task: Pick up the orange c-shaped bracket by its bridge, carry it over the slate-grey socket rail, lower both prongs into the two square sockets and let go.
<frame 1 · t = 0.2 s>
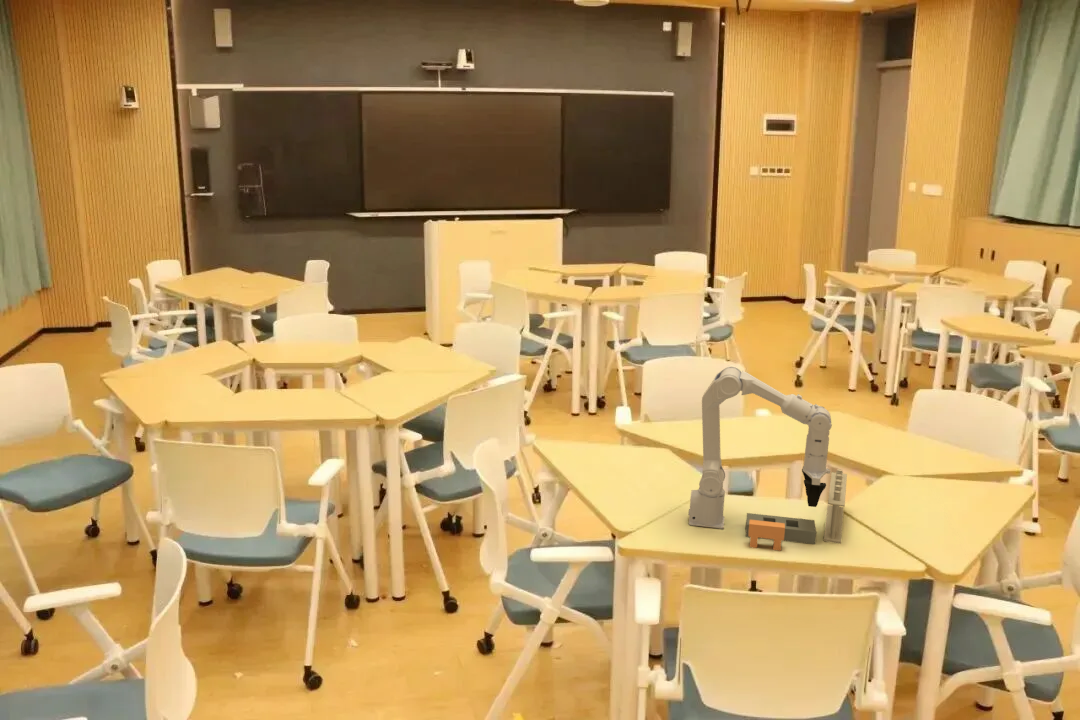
hand: (811, 500, 245), 10 cm above the table, tool pointing down, fingers open, 7 cm apart
test tube rack: (833, 525, 255), on the table
orange c-shaped bracket: (765, 546, 240), on the table
socket rail: (779, 534, 248), on the table
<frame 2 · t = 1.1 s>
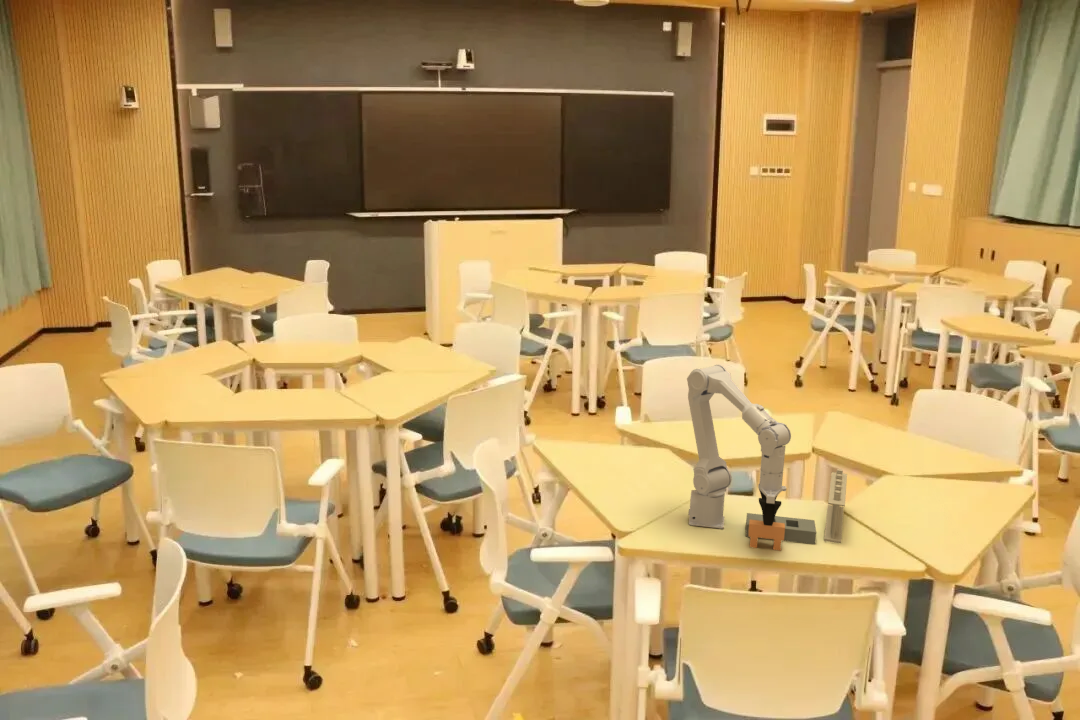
hand: (767, 519, 238), 8 cm above the table, tool pointing down, fingers open, 7 cm apart
nothing on the table moved.
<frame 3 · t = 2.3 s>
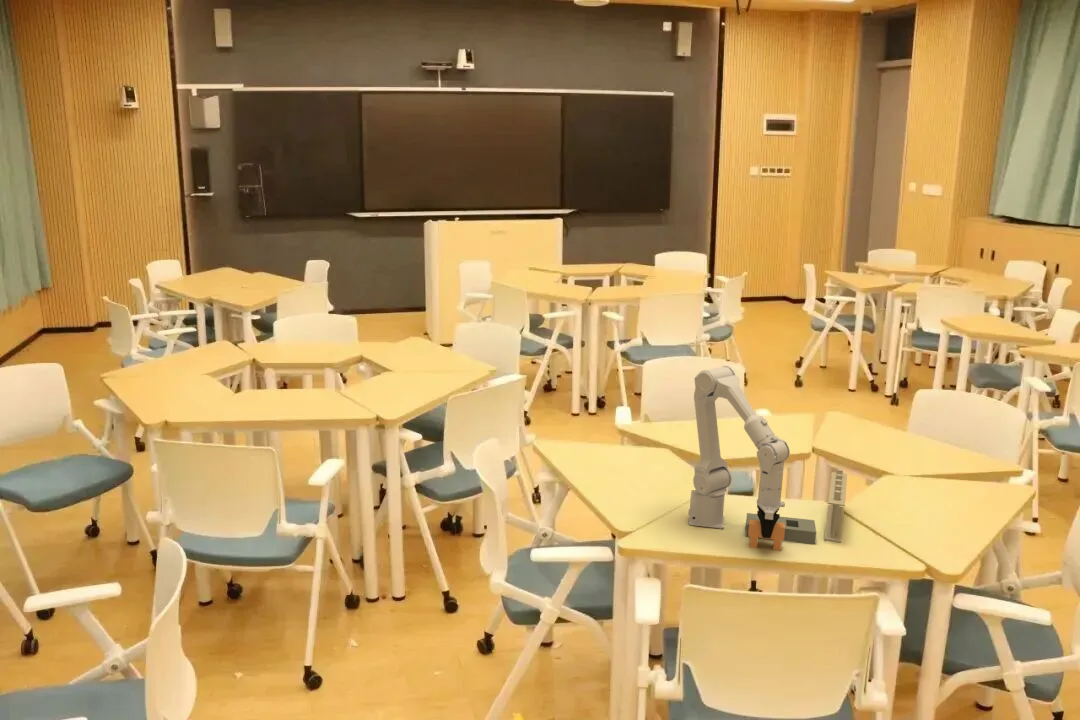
hand: (766, 534, 239), 3 cm above the table, tool pointing down, fingers closed on orange c-shaped bracket, 3 cm apart
orange c-shaped bracket: (765, 546, 240), on the table, touching gripper
everything else where it was.
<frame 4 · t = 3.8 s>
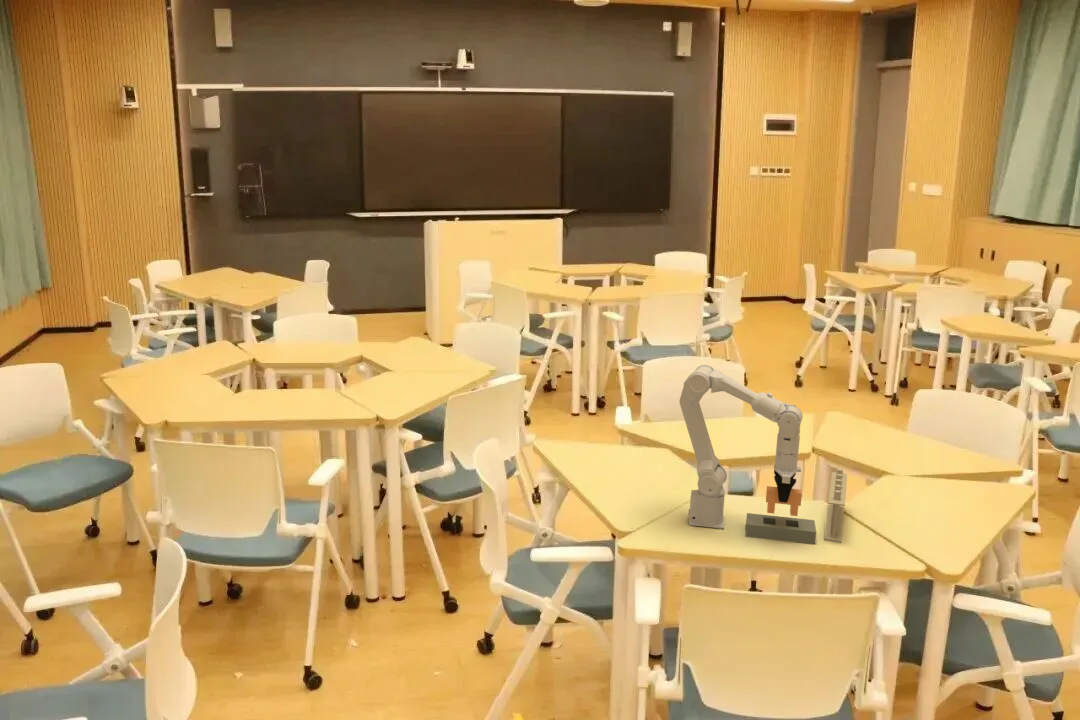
hand: (782, 499, 245), 10 cm above the table, tool pointing down, fingers closed on orange c-shaped bracket, 3 cm apart
orange c-shaped bracket: (782, 512, 246), point 6 cm above the table, touching gripper
everything else where it was.
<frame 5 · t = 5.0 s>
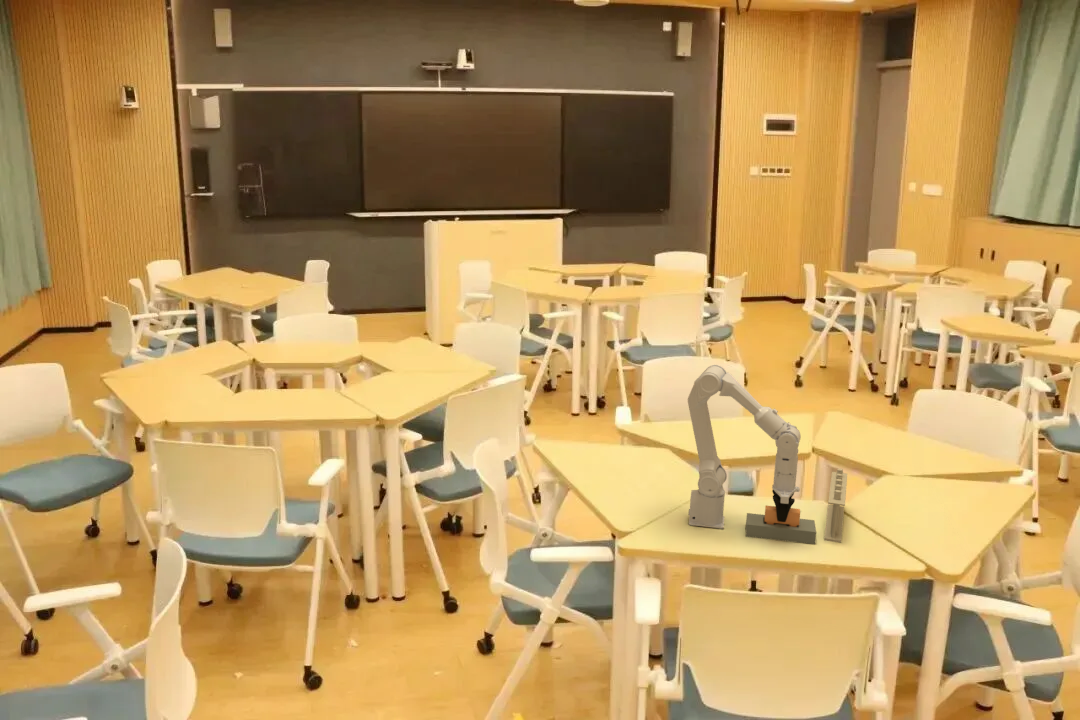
hand: (781, 518, 247), 5 cm above the table, tool pointing down, fingers closed on orange c-shaped bracket, 3 cm apart
orange c-shaped bracket: (780, 531, 248), point 1 cm above the table, touching gripper
everything else where it was.
when the fingers open (4 cm above the table, at t = 5.4 s): orange c-shaped bracket stays where it is, resting on socket rail.
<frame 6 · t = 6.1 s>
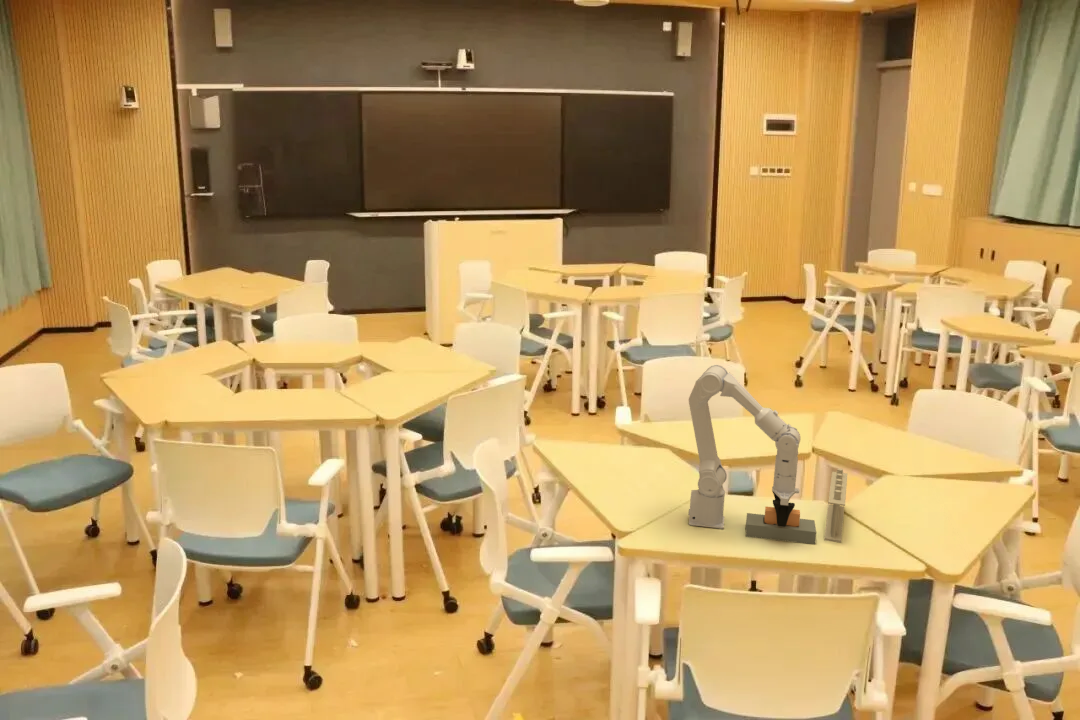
hand: (781, 520, 247), 4 cm above the table, tool pointing down, fingers open, 7 cm apart
orange c-shaped bracket: (780, 532, 248), resting on socket rail
everything else where it was.
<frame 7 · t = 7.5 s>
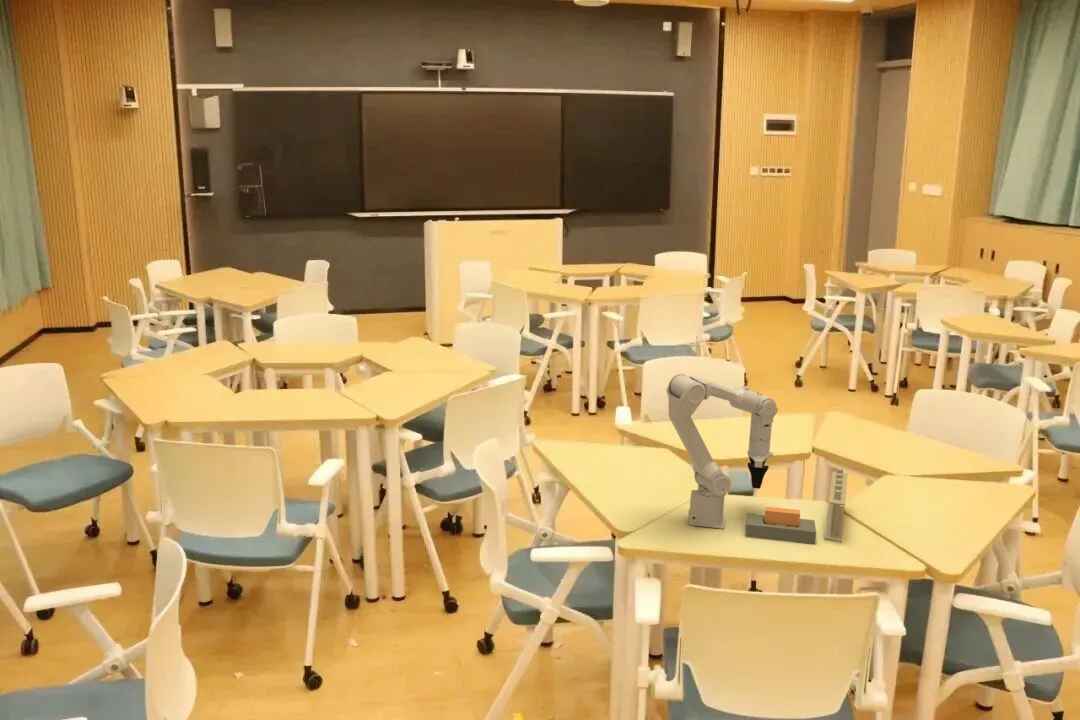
hand: (756, 483, 257), 10 cm above the table, tool pointing down, fingers open, 7 cm apart
nothing on the table moved.
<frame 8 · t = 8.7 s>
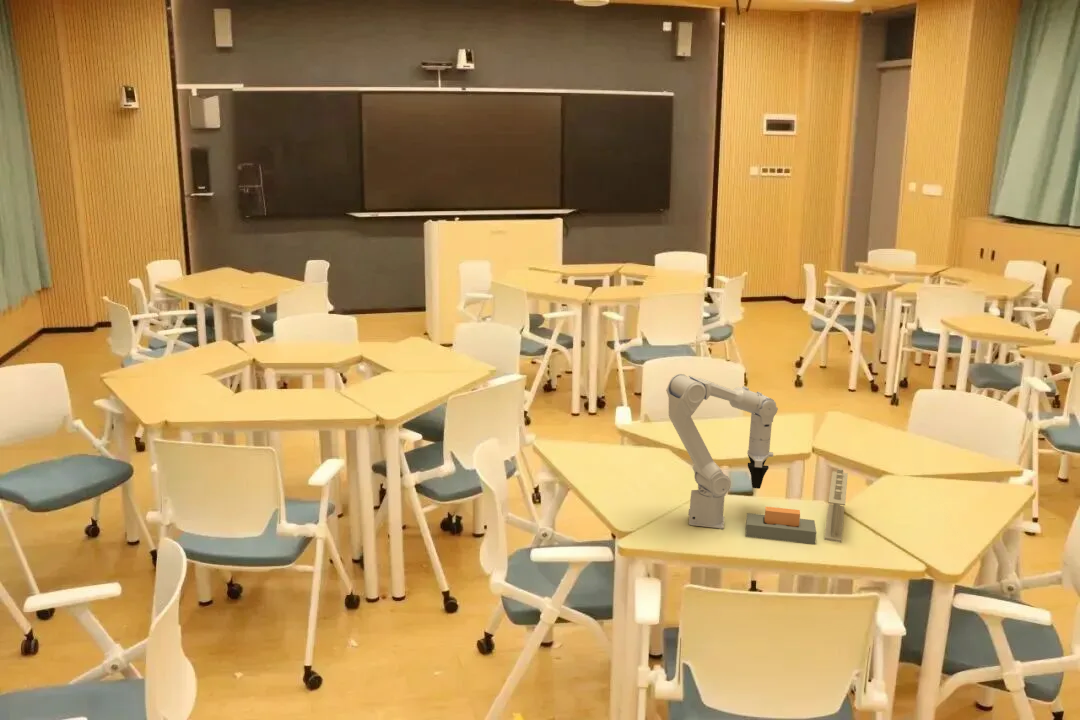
hand: (756, 483, 257), 10 cm above the table, tool pointing down, fingers open, 7 cm apart
nothing on the table moved.
at the end: orange c-shaped bracket 0.2 cm off-centre on the socket rail, point 0.5 cm above the socket rail's base; orange c-shaped bracket tilted 0°; the gripper is holding nothing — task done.
